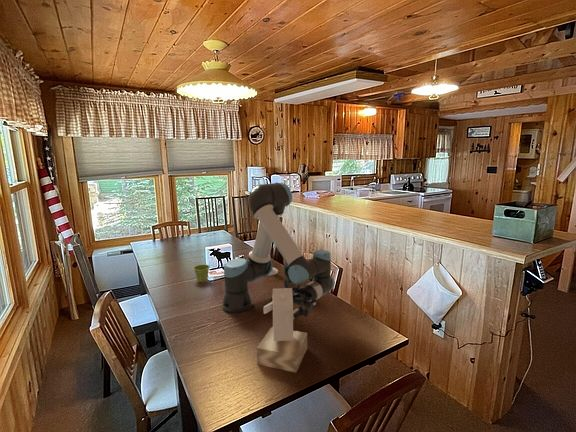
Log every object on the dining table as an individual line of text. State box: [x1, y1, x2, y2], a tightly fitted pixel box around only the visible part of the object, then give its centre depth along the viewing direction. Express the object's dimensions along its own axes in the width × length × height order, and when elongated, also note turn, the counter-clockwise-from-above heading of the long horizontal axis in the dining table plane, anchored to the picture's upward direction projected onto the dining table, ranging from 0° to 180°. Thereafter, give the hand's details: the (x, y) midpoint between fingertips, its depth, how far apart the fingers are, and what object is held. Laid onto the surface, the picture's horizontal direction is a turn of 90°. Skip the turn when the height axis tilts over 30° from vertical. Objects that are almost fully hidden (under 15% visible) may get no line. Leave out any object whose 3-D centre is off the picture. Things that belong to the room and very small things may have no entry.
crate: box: [256, 326, 308, 373], centre depth 121 cm, size 15×15×7 cm
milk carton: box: [272, 287, 294, 341], centre depth 118 cm, size 7×7×19 cm
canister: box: [283, 263, 302, 294], centre depth 174 cm, size 10×10×18 cm
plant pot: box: [193, 264, 211, 283], centre depth 193 cm, size 9×9×9 cm
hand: (275, 314), depth 115 cm, fingers closed on milk carton, 10 cm apart
